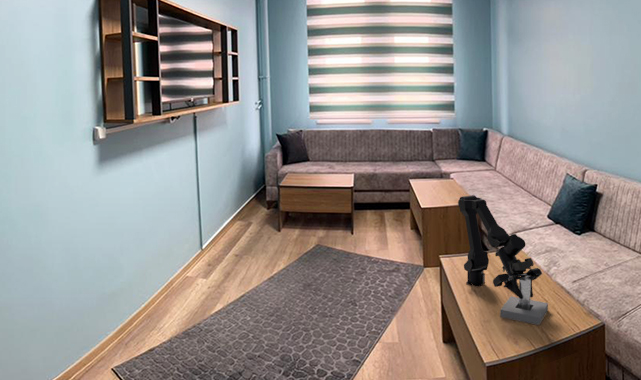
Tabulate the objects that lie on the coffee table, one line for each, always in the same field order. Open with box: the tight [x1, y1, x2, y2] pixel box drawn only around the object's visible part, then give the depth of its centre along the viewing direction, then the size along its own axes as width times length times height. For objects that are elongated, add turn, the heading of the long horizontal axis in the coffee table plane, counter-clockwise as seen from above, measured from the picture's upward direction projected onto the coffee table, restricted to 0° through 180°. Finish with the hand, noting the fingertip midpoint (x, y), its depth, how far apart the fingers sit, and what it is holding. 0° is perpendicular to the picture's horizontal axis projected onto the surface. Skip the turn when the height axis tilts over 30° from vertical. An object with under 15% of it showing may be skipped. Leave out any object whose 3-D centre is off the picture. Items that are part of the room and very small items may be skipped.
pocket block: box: [499, 295, 549, 326], centre depth 197 cm, size 14×14×3 cm
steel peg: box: [518, 277, 531, 311], centre depth 196 cm, size 4×4×14 cm
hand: (527, 297), depth 194 cm, fingers closed on steel peg, 4 cm apart
